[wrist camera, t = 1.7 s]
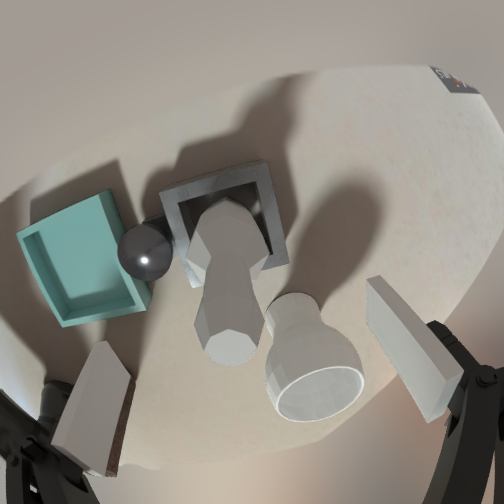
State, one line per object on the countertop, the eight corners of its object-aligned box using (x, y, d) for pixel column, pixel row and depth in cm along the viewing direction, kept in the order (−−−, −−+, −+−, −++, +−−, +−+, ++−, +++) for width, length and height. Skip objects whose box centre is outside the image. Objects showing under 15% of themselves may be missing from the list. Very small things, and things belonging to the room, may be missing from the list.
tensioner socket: (149, 282, 35) (139, 305, 30) (118, 202, 30) (100, 214, 25) (281, 247, 34) (291, 267, 29) (261, 159, 30) (268, 163, 25)
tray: (71, 314, 36) (62, 327, 32) (29, 225, 30) (15, 233, 26) (152, 295, 35) (146, 310, 32) (110, 188, 29) (98, 194, 26)
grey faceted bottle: (264, 215, 33) (326, 340, 12) (228, 252, 34) (235, 405, 14) (224, 178, 31) (223, 259, 10) (188, 219, 32) (136, 350, 12)
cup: (251, 288, 36) (267, 373, 22) (329, 277, 37) (379, 350, 23) (257, 348, 40) (271, 431, 27) (325, 337, 41) (360, 412, 27)
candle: (134, 362, 40) (105, 468, 21) (142, 390, 43) (123, 486, 24) (93, 357, 39) (55, 452, 21) (104, 384, 42) (76, 474, 23)
